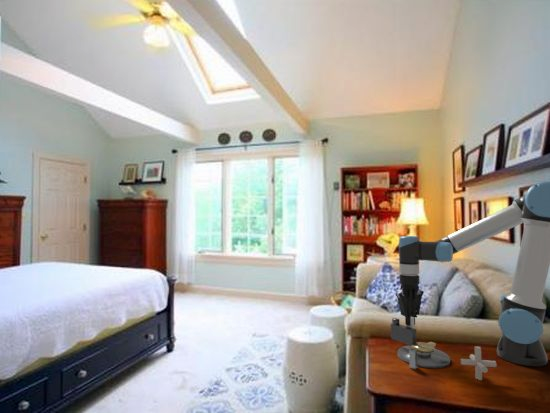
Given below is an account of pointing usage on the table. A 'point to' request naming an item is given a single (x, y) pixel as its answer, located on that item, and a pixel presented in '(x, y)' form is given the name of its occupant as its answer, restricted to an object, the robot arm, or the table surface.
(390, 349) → the table surface
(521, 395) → the table surface
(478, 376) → the pipe connector
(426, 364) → the post plate
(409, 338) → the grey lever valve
